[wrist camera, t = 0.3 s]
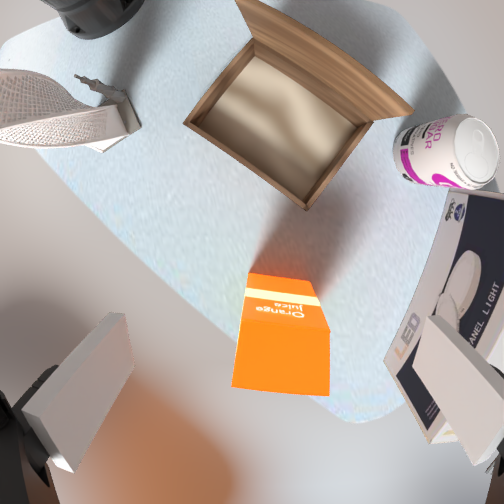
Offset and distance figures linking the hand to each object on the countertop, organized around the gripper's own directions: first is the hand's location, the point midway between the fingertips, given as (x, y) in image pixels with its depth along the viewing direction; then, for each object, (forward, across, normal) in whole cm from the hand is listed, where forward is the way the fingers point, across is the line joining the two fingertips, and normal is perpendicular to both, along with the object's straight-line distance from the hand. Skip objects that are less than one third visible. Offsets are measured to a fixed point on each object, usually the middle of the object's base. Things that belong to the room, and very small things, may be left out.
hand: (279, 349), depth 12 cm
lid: (+24, +5, +19) cm, 31 cm away
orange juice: (+29, +1, -11) cm, 31 cm away
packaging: (+29, +27, -8) cm, 41 cm away
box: (+30, +1, +13) cm, 32 cm away
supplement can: (+30, +21, +11) cm, 38 cm away
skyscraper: (+30, -22, +14) cm, 40 cm away
